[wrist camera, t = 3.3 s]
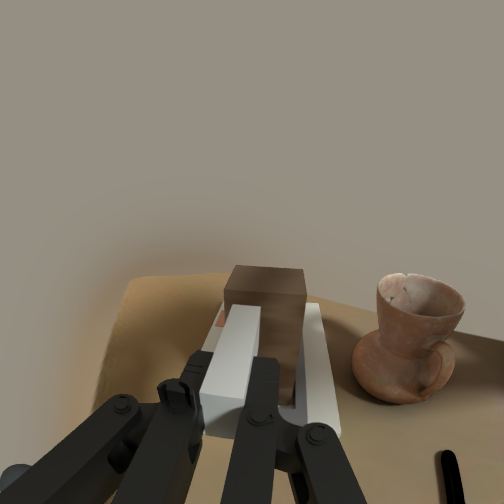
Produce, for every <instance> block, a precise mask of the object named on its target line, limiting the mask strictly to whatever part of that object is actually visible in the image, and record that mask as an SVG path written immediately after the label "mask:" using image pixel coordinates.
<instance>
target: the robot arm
mask: <svg viewBox="0 0 504 504" xmlns="http://www.w3.org/2000/svg"><path fill="white" fill-rule="evenodd" d="M260 312H261V307H259V306H248V305H236V304H233V305H232V307H231V310H230V312H229V315H228V318H227V320H226V323H225V326H224V328H223V331H222V334H221V336H220V339H219V341H218V344H217V347H216V349H215V352H208V351H201V350H197V351H196V352H195V353H194V354H192V355H191V356H190V358H189V360H188V362H187V365H186V366H185V368H184V371H183V372H182V374H181V376H180V378H179V379H175V378H173V379H168V380H165V381H163V382H161V383H160V384H159V385H158V386H157V390H158V394H159V397H160V401H161V402H159V403H138V401H137V399H135V398H134V397H133V396H131V395H128V394H119V395H115V396H113V397H112V398H110V399H109V400H108V401H106V402H105V403H104V404H103V405H102V406H101V407H100V408H99V409H97V410H96V411H95V412H94V413H93V414H92V415H91V416H89V417H88V418H87V419H86V420H85V421H84V422H83V423H82V424H80V425H79V426H78V427H77V428H76V429H75V430H74V431H72V432H71V433H70V434H69V435H68V436H67V437H66V438H64V439H63V440H62V441H61V442H60V443H59V444H57V445H56V446H55V447H54V448H53V449H52V450H51V451H49V452H48V453H47V454H46V455H45V456H43V457H42V458H41V459H40V460H39V461H38V462H37V463H35V464H34V465H33V466H32V467H31V468H29V469H28V470H27V471H26V472H25V473H23V474H22V475H21V476H20V477H19V478H17V479H16V480H15V481H14V482H13V483H11V484H10V485H9V486H8V487H7V488H5V489H4V490H3V491H2V492H1V493H0V504H104V503H105V502H106V501H107V500H108V499H109V498H110V497H111V495H112V494H113V493H114V492H115V491H116V490H117V489H118V490H117V492H116V494H115V496H114V498H113V500H112V503H111V504H184V503H185V500H186V497H187V494H188V491H189V487H190V484H191V481H192V478H193V474H194V471H195V468H196V465H197V461H198V458H199V455H200V451H201V448H202V435H203V432H204V430H205V435H209V436H214V437H220V438H227V439H234V444H233V449H232V453H231V458H230V462H229V467H228V471H227V476H226V480H225V485H224V489H223V494H222V498H221V502H220V504H271V499H272V489H273V479H274V468H275V469H278V470H281V471H284V472H287V473H288V477H289V481H290V485H291V488H292V492H293V496H294V500H295V503H296V504H367V502H366V500H365V497H364V495H363V493H362V490H361V488H360V486H359V484H358V481H357V479H356V477H355V475H354V472H353V470H352V468H351V466H350V463H349V461H348V459H347V457H346V454H345V452H344V450H343V447H342V445H341V443H340V441H339V438H338V436H337V434H336V432H335V431H334V429H333V428H332V427H330V426H329V425H327V424H324V423H320V422H312V423H309V424H306V425H304V426H303V427H302V426H298V425H295V424H292V423H290V422H288V421H286V420H285V419H283V418H282V416H281V415H280V413H279V411H278V399H279V381H280V364H279V363H278V361H277V359H276V358H269V357H257V353H258V345H259V329H260Z"/></svg>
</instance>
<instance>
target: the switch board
mask: <svg viewBox="0 0 504 504" xmlns="http://www.w3.org/2000/svg"><path fill="white" fill-rule="evenodd" d="M224 326H225V318H224V301H223V303H222V305H221V307H220V309H219V312H218V314H217V316H216V318H215V320H214V323H213V325H212V327H211V329H210V331H209V334H208V336H207V338H206V340H205V342H204V345H203V347H202V349H201V351H208V352H215V349H216V347H217V344H218V341H219V339H220V336H221V334H222V331H223V328H224ZM278 411H279V413H280V415H281V416H282V418H283V419H285V420H286V421H288V422H290V423H292V424H295V425H298V426H302V427H303V426H304V425H306V424H309V423H312V422H320V423H324V424H327V425H329V426H330V427H332V428H333V429H334V431H335V432H336V434H337V436H338V438H339V437H340V435H341V428H340V421H339V414H338V407H337V401H336V394H335V388H334V382H333V376H332V371H331V365H330V360H329V354H328V349H327V344H326V339H325V333H324V328H323V324H322V319H321V314H320V309H319V305H318V303H306V307H305V315H304V322H303V330H302V337H301V343H300V350H299V357H298V363H297V369H296V375H295V381H294V386H293V392H292V397H291V403H290V405H282V404H278ZM203 434H205V430H204V432H203Z"/></svg>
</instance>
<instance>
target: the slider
mask: <svg viewBox="0 0 504 504" xmlns="http://www.w3.org/2000/svg"><path fill="white" fill-rule="evenodd" d="M306 299H307V292H306V285H305V279H304V273H303V269H290V268H273V267H256V266H241V265H236V266H235V268H234V270H233V272H232V274H231V276H230V278H229V280H228V282H227V284H226V286H225V288H224V318H225V323H226V320H227V318H228V315H229V312H230V310H231V307H232V305H233V304H236V305H248V306H259V307H261V312H260V329H259V345H258V353H257V357H269V358H276V359H277V361H278V363H279V364H280V381H279V399H278V404H282V405H290V403H291V397H292V392H293V386H294V381H295V375H296V369H297V363H298V357H299V350H300V343H301V337H302V330H303V322H304V315H305V307H306Z"/></svg>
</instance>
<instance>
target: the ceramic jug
mask: <svg viewBox="0 0 504 504" xmlns="http://www.w3.org/2000/svg"><path fill="white" fill-rule="evenodd" d="M386 297H390V298H391V302H388V301H386V299H385V298H386ZM465 308H466V303H465V300H464V297H463V296H462V295H461V294H460V293H459V291H457V290H456V289H454V288H453V287H452V286H450V285H448V284H446V283H444V282H442V281H439V280H437V279H434V278H431V277H428V276H423V275H419V274H407V276H405V275H403V274H402V273H397V274H391V275H387V276H385V277H383V278H382V279H381V280H380V281H379V283H378V286H377V313H378V323H379V329H378V330H375V331H373V332H370V333H369V334H367V335H365V336H364V337H363V338H362V339H361V340H360V341H359V342H358V343H357V344H356V346H355V348H354V350H353V353H352V357H351V365H352V371H353V374H354V376H355V378H356V380H357V381H358V383H359V384H360V385H361V386H362V387H363V388H364V389H365V390H366V391H367V392H368V393H370V394H371V395H373V396H374V397H376V398H378V399H380V400H383V401H386V402H390V403H395V404H413V403H417V402H421V401H425V400H426V399H427V398H428V397H430V396H431V395H432V394H433V393H434V392H436V391H438V390H439V389H441V388H442V387H443V386H444V385H445V384H446V382H447V381H448V380H449V378H450V376H451V374H452V372H453V370H454V367H455V360H456V357H455V353H454V351H453V349H452V348H451V346H450V345H449V344H447V343H445V342H444V341H445V340H446V339H447V338H448V337H449V336H450V334H451V333H452V332H453V330H454V329H455V327H456V326H457V324H458V323H459V321H460V319H461V317H462V315H463V313H464V311H465Z"/></svg>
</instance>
